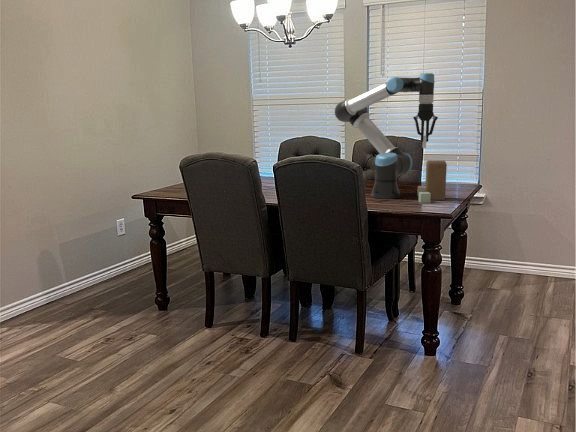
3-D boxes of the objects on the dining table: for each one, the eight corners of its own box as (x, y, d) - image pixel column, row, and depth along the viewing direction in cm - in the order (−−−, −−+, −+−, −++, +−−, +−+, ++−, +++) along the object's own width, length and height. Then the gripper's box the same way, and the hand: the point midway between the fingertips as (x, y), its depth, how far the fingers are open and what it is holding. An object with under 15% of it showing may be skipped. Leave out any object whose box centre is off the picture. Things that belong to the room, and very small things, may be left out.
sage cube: (420, 203, 292) (420, 193, 291) (418, 201, 297) (418, 192, 296) (430, 203, 292) (430, 193, 291) (428, 201, 297) (428, 191, 296)
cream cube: (417, 196, 312) (417, 187, 311) (418, 194, 317) (418, 185, 316) (426, 196, 311) (426, 187, 310) (427, 195, 315) (427, 186, 314)
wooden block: (445, 200, 297) (446, 162, 293) (425, 200, 299) (426, 162, 295) (443, 197, 307) (445, 160, 303) (424, 197, 309) (426, 160, 305)
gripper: (414, 103, 298) (412, 148, 303) (439, 103, 297) (437, 148, 302) (412, 103, 305) (411, 147, 310) (437, 103, 304) (435, 147, 309)
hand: (424, 147), depth 306 cm, fingers closed
